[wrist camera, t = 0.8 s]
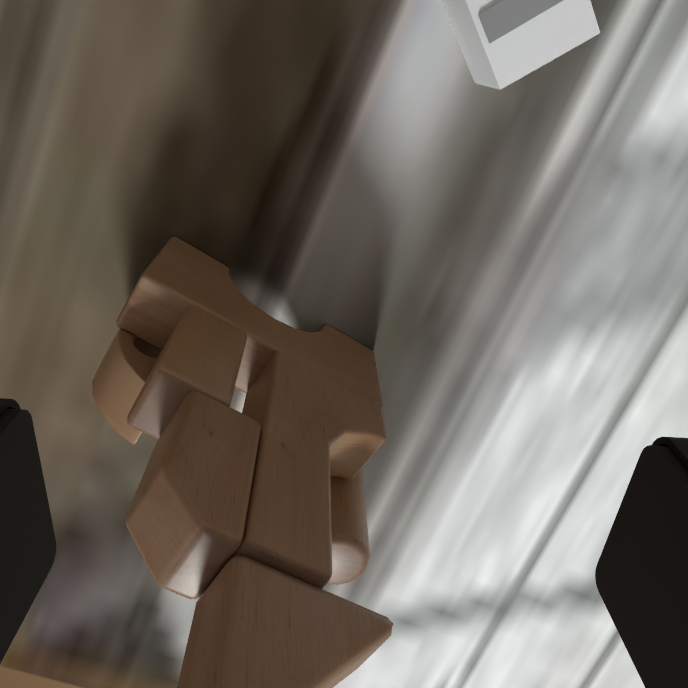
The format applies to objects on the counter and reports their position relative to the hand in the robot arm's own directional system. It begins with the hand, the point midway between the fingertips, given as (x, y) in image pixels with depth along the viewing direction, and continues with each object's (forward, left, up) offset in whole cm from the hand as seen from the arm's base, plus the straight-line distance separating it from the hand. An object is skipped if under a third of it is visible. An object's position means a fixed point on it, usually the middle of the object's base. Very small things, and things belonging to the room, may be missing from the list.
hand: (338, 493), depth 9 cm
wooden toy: (+9, +7, -25) cm, 28 cm away
